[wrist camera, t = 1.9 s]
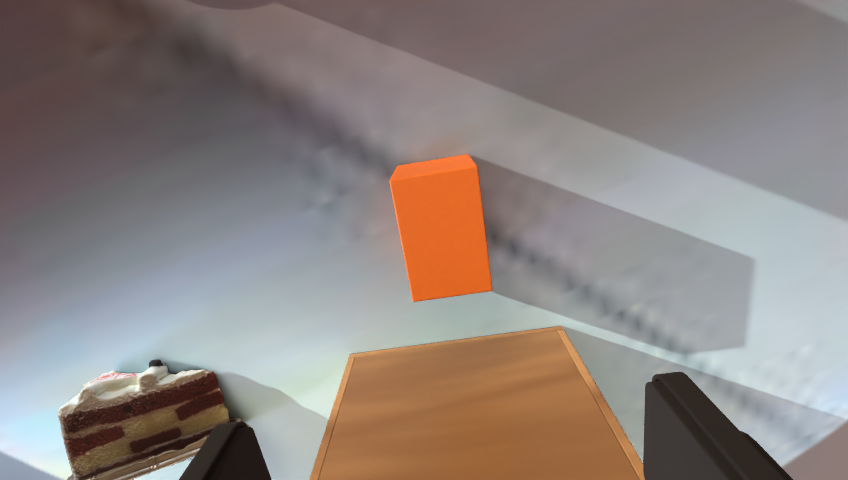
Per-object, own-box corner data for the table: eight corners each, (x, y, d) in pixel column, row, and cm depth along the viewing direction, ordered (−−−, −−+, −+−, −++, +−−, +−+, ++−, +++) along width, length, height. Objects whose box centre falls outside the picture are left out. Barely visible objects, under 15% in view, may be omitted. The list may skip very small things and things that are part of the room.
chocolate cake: (236, 341, 30) (5, 417, 22) (257, 432, 30) (37, 541, 22) (205, 334, 37) (25, 389, 29) (223, 407, 37) (48, 482, 29)
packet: (396, 165, 25) (389, 179, 20) (468, 153, 25) (477, 165, 20) (415, 267, 27) (412, 302, 22) (481, 258, 27) (492, 291, 22)
